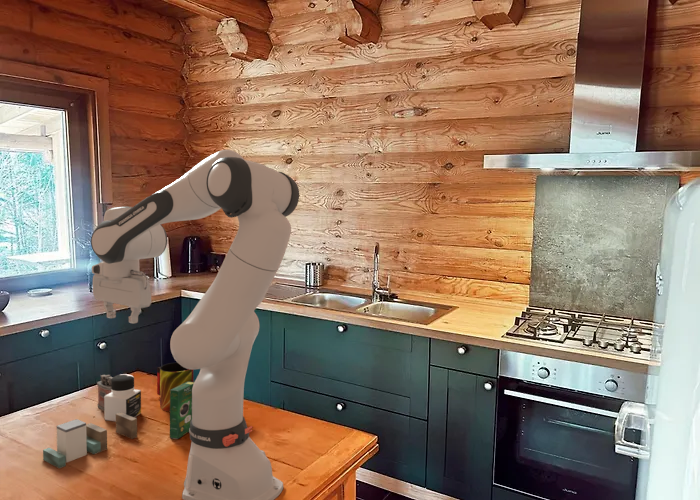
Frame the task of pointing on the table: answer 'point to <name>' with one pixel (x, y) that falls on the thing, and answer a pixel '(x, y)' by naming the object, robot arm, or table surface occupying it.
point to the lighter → (103, 389)
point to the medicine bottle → (122, 398)
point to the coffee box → (180, 409)
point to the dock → (96, 439)
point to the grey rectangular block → (72, 439)
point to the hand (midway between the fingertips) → (122, 320)
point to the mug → (171, 381)
